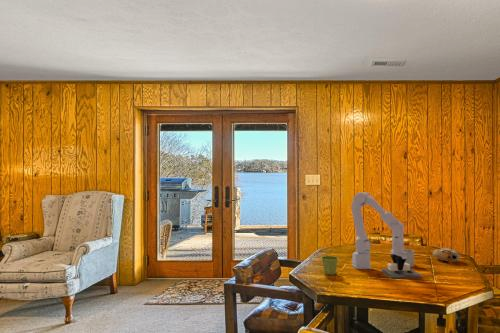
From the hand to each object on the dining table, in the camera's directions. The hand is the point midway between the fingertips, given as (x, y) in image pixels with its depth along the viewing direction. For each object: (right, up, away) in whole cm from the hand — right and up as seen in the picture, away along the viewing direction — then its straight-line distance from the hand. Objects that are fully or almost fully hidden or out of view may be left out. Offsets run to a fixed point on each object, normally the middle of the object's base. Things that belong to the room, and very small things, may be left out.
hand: (398, 269), depth 187 cm
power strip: (0, -2, 0) cm, 2 cm away
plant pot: (-38, -3, 0) cm, 38 cm away
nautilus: (+40, -3, +23) cm, 46 cm away
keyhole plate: (0, -2, -3) cm, 3 cm away
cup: (+11, -3, +17) cm, 20 cm away
